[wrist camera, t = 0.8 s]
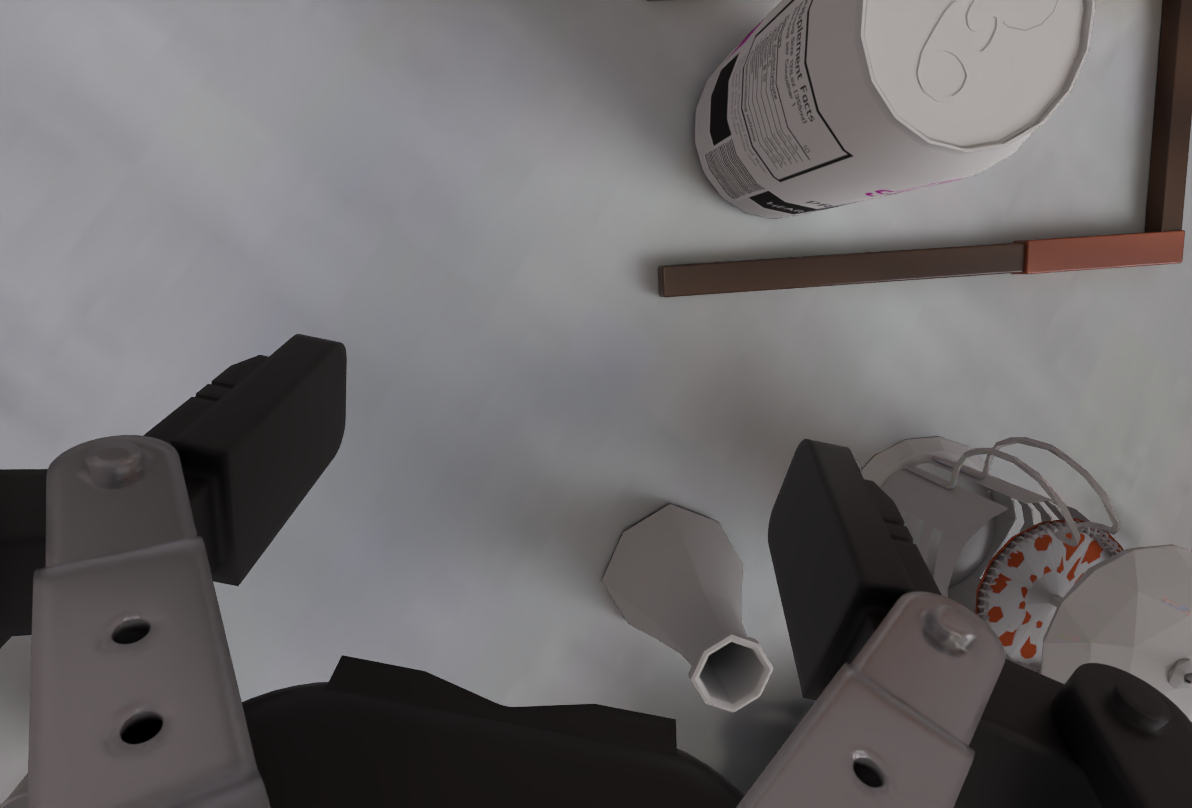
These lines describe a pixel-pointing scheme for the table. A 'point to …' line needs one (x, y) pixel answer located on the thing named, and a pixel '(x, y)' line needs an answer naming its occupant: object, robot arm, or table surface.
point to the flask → (690, 602)
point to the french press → (1043, 566)
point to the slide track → (1182, 93)
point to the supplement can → (882, 96)
